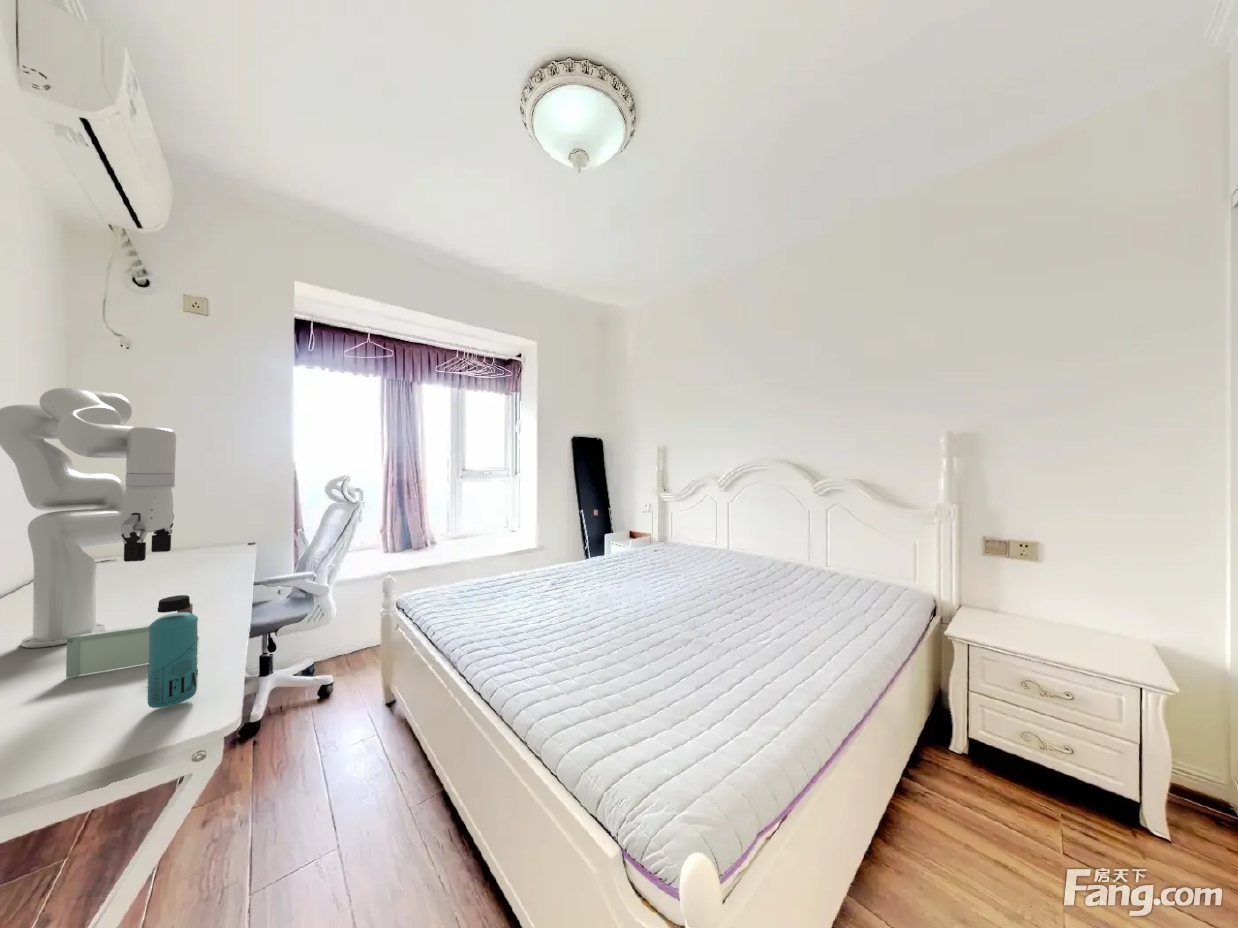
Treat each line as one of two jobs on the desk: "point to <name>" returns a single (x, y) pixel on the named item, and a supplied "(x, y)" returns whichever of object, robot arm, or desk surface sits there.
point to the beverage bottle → (172, 654)
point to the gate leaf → (107, 650)
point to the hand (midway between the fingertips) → (148, 555)
